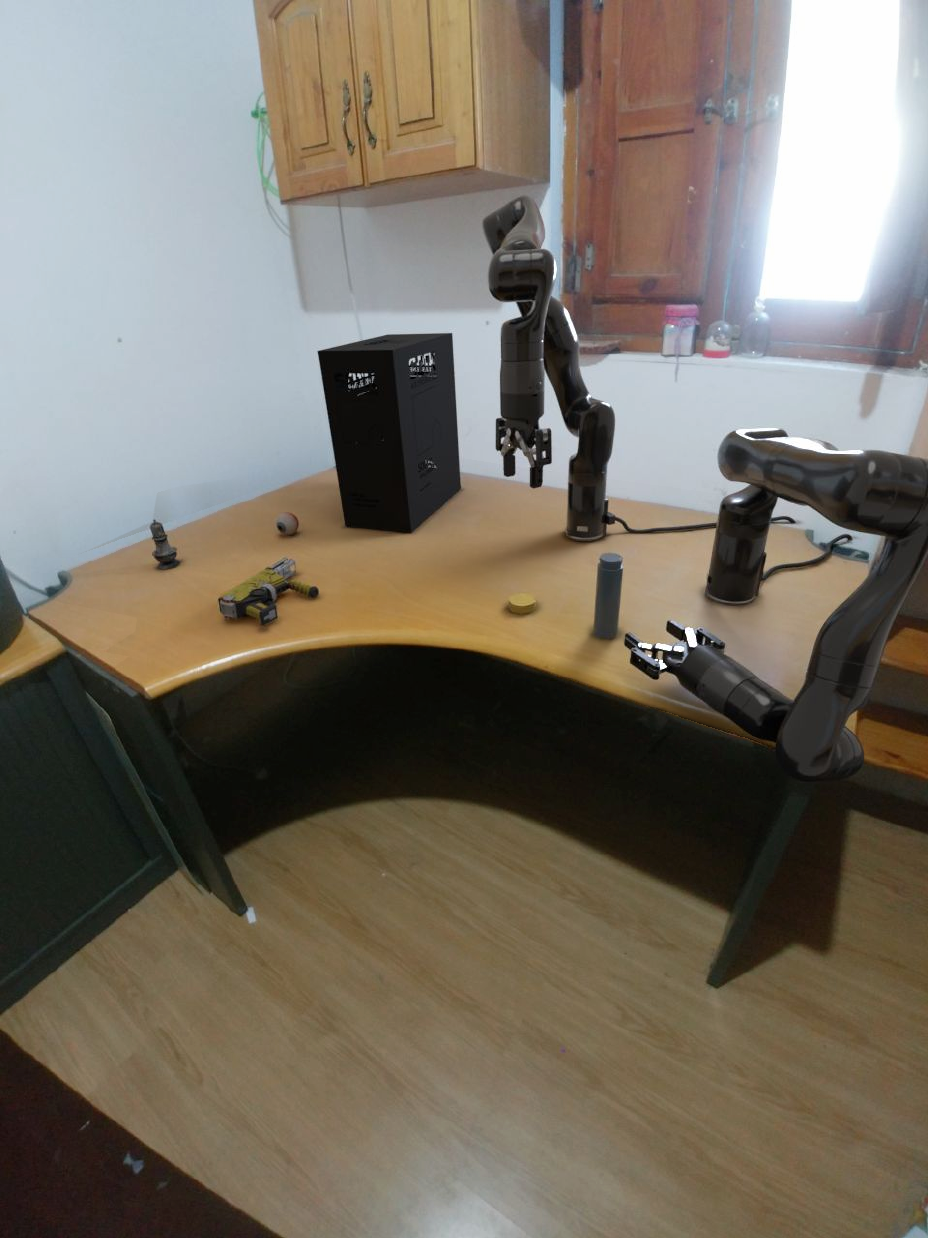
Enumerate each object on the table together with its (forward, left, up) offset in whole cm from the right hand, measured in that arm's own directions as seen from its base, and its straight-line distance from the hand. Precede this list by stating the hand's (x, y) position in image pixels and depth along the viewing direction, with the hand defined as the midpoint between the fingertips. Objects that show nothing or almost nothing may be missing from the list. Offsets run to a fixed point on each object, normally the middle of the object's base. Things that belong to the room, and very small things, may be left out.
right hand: (647, 631), depth 101 cm
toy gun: (+52, -56, -6) cm, 77 cm away
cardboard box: (+9, -98, -6) cm, 99 cm away
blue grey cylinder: (0, -12, -6) cm, 13 cm away
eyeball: (+44, -95, -6) cm, 105 cm away
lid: (+9, -28, -5) cm, 29 cm away
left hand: (+9, -28, +20) cm, 35 cm away
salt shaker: (+75, -90, -6) cm, 117 cm away
